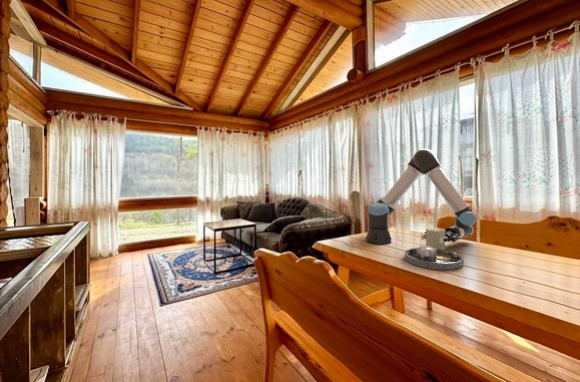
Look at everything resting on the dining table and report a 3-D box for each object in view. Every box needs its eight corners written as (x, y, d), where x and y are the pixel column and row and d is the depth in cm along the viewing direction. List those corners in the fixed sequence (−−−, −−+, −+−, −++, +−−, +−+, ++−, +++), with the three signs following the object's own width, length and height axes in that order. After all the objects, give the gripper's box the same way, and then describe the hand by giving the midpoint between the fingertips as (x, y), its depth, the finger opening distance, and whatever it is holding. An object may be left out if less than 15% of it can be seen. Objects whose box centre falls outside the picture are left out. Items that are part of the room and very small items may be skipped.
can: (444, 253, 133) (444, 231, 133) (424, 251, 139) (424, 229, 138) (446, 249, 141) (446, 227, 140) (427, 247, 146) (427, 226, 146)
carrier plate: (395, 255, 133) (395, 241, 133) (437, 252, 137) (437, 238, 136) (426, 272, 110) (426, 255, 109) (476, 267, 113) (476, 251, 113)
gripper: (474, 243, 139) (451, 250, 128) (435, 236, 158) (411, 241, 147) (474, 229, 139) (451, 235, 128) (435, 223, 157) (411, 228, 146)
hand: (430, 238), depth 137 cm, fingers closed on can, 9 cm apart
